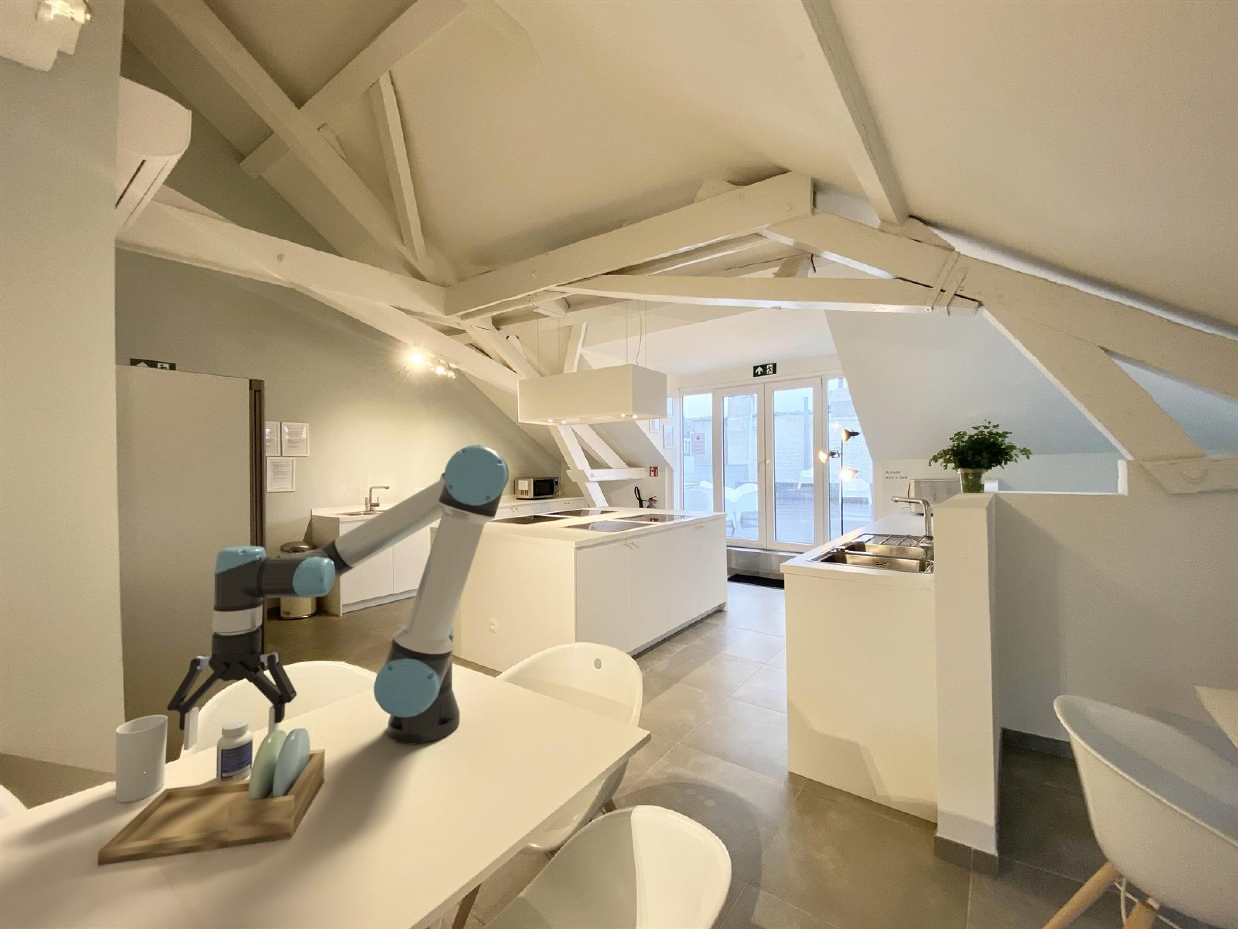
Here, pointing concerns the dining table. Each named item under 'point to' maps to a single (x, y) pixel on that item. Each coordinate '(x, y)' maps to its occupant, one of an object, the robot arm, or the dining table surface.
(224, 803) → the dish rack
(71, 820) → the dining table surface
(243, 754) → the pill bottle
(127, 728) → the mug
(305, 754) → the plate blue
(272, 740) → the plate sage
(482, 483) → the robot arm
